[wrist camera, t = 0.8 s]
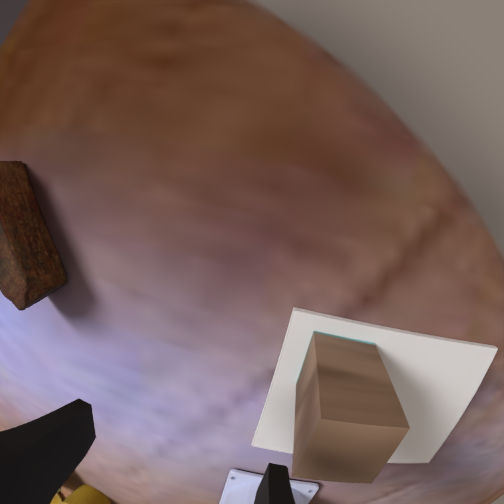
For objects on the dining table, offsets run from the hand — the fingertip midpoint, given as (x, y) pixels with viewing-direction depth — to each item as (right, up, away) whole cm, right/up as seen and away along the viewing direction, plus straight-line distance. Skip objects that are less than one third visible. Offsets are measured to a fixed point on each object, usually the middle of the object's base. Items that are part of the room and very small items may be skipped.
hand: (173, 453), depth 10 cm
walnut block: (+8, 0, +9) cm, 12 cm away
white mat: (+12, -3, +10) cm, 16 cm away
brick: (-14, +9, +11) cm, 20 cm away
